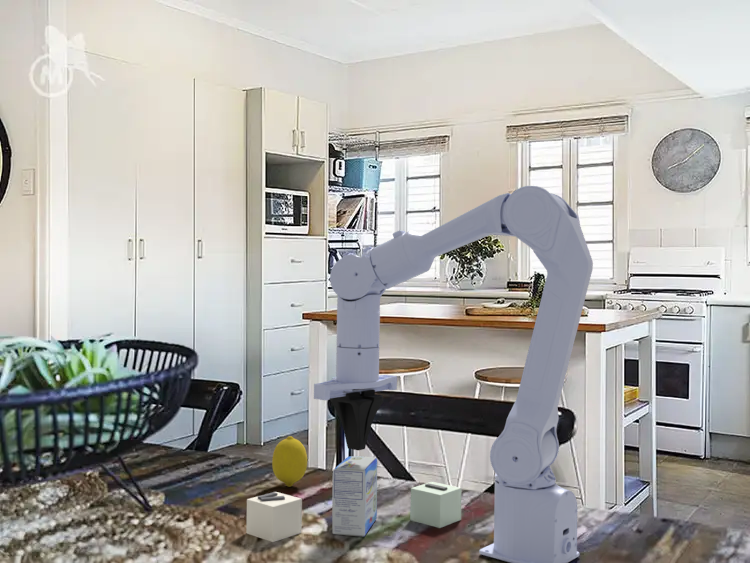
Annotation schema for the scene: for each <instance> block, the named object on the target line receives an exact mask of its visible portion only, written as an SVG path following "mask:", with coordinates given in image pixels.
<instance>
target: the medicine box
mask: <svg viewBox="0 0 750 563" xmlns="http://www.w3.org/2000/svg"><path fill="white" fill-rule="evenodd" d="M331 482H332V484H331V486H332V490H331V491H332V496H331V497H332V501H331V502H332V504H331V505H332V509H331V510H332V511H331V512H332V513H331V514H332V515H331V516H332V517H331V519H332V520H331V521H332V534H333V535H339V536H348V537H349V536H352V537H362V538H364V537H366V535H367V533H368V532H369V530H370V528H372V525H374V522H376V520H377V518H378V517H377V516H378V514H377V511H378V510H377V508H378V506H377V505H378V458H377V457H373V456H362V455H361V456H360V455H359V456H357V455H355V456H354V455H352V456H347V457H346V458H344V460H342V461H341V462H340V463H339V464H338V465H337V466H335V468H334V469H333V470H332V481H331Z"/></svg>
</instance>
